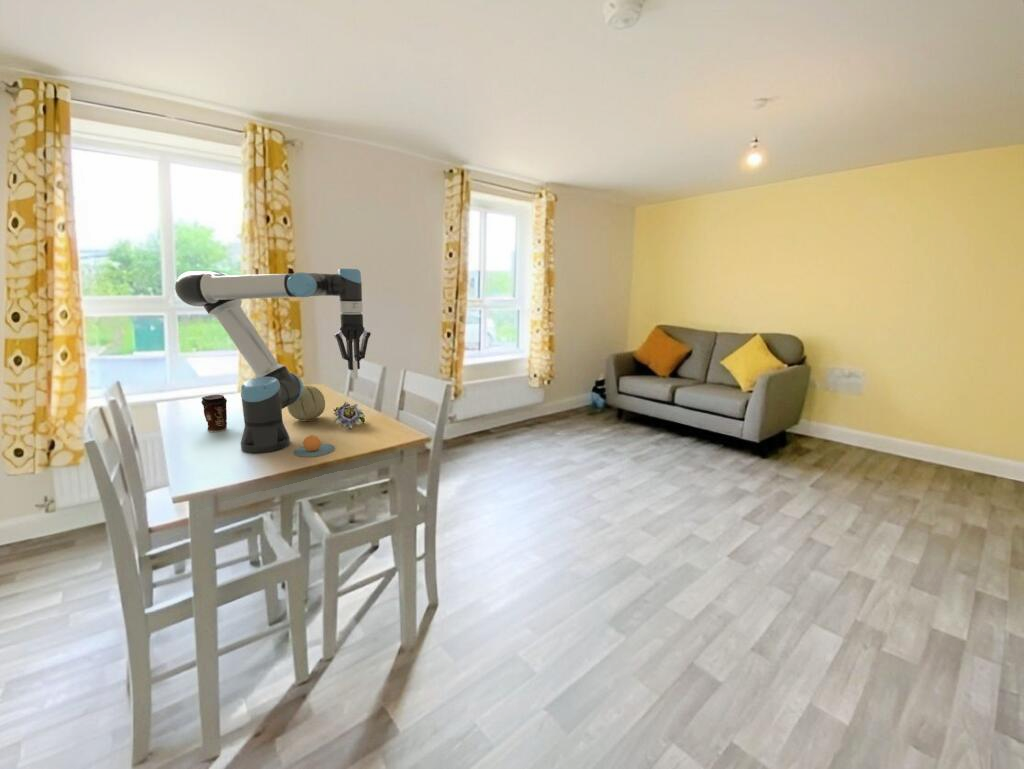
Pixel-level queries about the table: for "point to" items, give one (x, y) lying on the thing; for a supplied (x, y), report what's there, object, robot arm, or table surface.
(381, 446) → the table surface
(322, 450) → the mark
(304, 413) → the cantaloupe
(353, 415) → the passion flower
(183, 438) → the table surface
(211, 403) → the coffee cup
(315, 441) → the ball
